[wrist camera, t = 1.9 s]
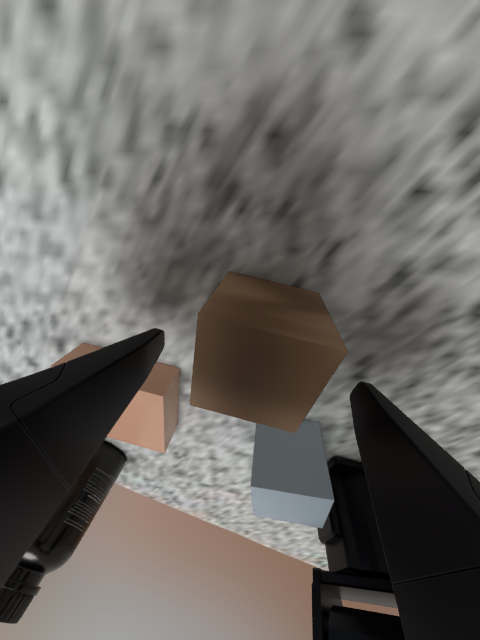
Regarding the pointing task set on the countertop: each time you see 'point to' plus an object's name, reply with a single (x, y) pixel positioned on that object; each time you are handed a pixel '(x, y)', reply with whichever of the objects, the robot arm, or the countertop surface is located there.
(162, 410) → the base block
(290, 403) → the walnut cube
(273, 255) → the countertop surface
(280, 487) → the slate-blue cube
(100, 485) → the supplement bottle
